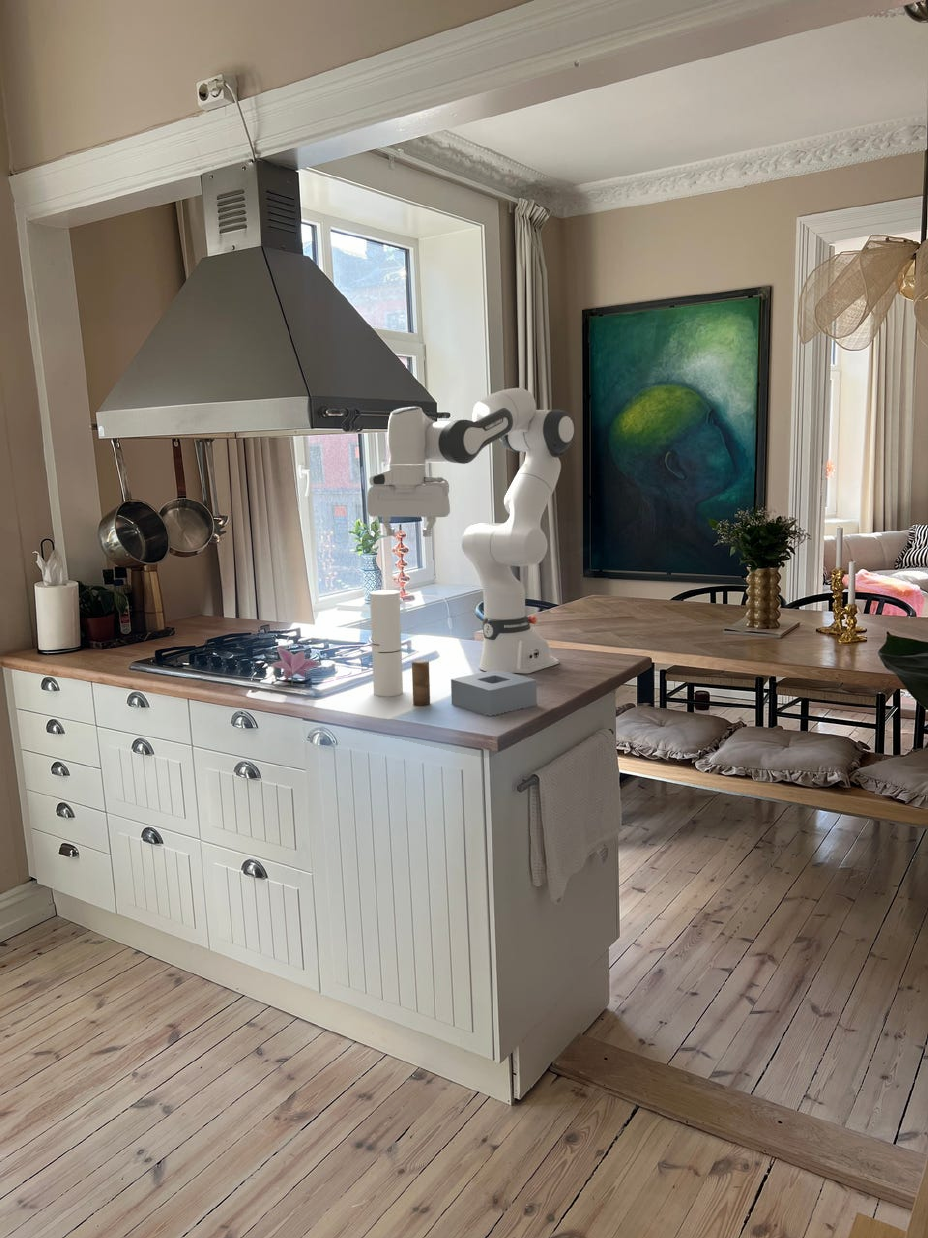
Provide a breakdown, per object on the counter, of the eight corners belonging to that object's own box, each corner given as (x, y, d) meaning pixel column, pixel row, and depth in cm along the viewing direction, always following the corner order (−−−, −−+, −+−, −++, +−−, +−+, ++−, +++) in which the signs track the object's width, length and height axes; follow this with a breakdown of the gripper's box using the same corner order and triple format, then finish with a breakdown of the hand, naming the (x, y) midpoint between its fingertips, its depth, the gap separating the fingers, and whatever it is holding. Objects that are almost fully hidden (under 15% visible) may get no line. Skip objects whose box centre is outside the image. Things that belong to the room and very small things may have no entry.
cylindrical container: (388, 687, 233) (384, 589, 228) (409, 691, 228) (405, 591, 224) (367, 693, 227) (363, 592, 223) (388, 698, 223) (384, 595, 218)
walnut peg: (423, 700, 220) (422, 659, 218) (433, 704, 217) (432, 662, 215) (409, 703, 217) (408, 662, 216) (419, 707, 214) (418, 665, 212)
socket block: (497, 693, 225) (497, 669, 224) (536, 705, 214) (536, 679, 213) (451, 704, 216) (451, 679, 215) (490, 716, 205) (489, 690, 204)
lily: (327, 687, 239) (326, 651, 242) (296, 678, 229) (295, 642, 233) (292, 696, 245) (292, 661, 248) (260, 688, 235) (260, 652, 239)
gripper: (453, 476, 217) (454, 535, 219) (375, 477, 224) (376, 534, 227) (443, 477, 211) (444, 538, 214) (363, 477, 218) (364, 536, 221)
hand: (408, 536), depth 220 cm, fingers open, 8 cm apart
